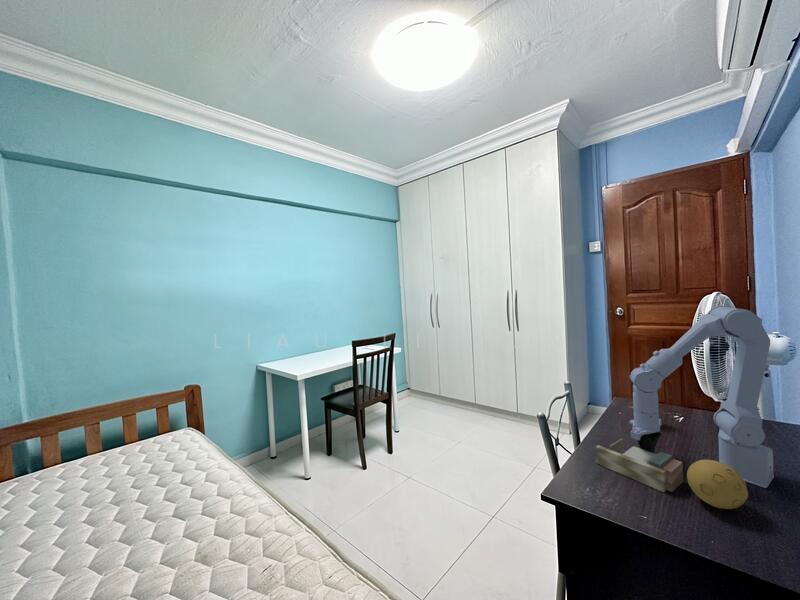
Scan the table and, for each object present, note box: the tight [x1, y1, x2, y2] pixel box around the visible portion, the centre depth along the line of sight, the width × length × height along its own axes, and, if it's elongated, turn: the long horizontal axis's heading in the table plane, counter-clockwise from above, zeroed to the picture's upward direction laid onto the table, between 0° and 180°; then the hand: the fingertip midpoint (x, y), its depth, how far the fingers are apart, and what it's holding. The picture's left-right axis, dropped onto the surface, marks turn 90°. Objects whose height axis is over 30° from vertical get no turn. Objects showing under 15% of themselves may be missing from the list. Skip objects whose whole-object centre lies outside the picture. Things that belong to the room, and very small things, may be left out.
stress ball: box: [686, 459, 749, 510], centre depth 72 cm, size 10×10×10 cm
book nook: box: [594, 437, 684, 493], centre depth 86 cm, size 18×8×6 cm, turn 31°
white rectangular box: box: [623, 445, 658, 464], centre depth 88 cm, size 6×8×4 cm
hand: (647, 455), depth 91 cm, fingers closed
